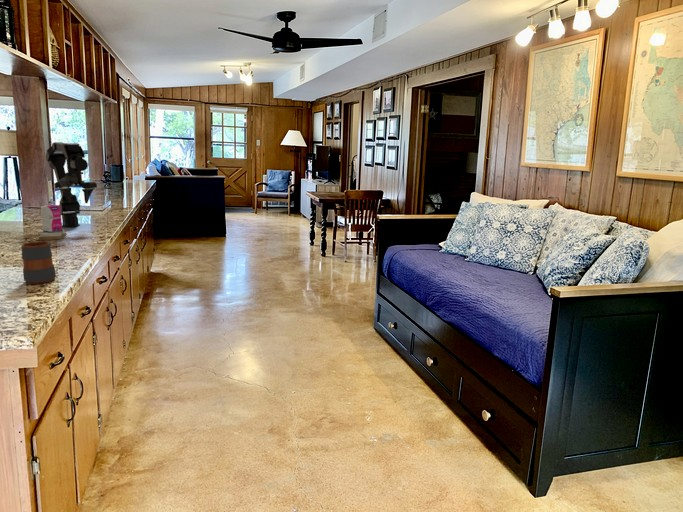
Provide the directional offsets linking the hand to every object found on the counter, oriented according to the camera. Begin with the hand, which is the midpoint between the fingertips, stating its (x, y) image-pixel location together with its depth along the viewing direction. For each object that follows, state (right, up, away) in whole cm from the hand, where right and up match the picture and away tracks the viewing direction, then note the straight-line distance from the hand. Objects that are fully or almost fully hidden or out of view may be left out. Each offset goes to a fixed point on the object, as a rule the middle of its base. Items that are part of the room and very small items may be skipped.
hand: (77, 203), depth 251 cm
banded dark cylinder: (+33, -33, -87) cm, 99 cm away
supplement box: (-1, -15, -19) cm, 24 cm away
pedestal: (-1, -18, -19) cm, 26 cm away
